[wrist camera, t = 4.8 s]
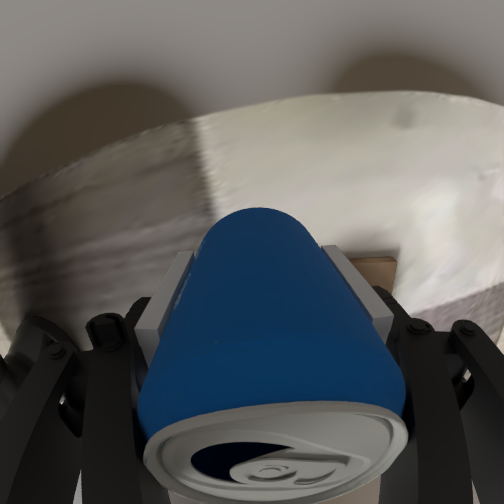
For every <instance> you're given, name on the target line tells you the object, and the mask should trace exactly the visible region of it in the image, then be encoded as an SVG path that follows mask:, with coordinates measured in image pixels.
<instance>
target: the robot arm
mask: <svg viewBox="0 0 504 504" xmlns="http://www.w3.org/2000/svg"><path fill="white" fill-rule="evenodd" d="M321 250H322V251H323V253H324V254H325V255H326V257H327V258H328V260H329V261H330V262H331V264H332V265H333V267H334V268H335V270H336V271H337V272H338V274H339V275H340V277H341V278H342V280H343V281H344V283H345V284H346V285H347V287H348V288H349V290H350V291H351V293H352V294H353V296H354V297H355V299H356V300H357V302H358V303H359V305H360V306H361V308H362V309H363V311H364V312H365V314H366V315H367V317H368V318H369V320H370V321H371V323H372V325H373V326H374V328H375V329H376V331H377V332H378V334H379V336H380V337H381V339H382V340H383V342H384V344H385V345H386V347H387V348H388V350H389V352H390V353H391V355H392V356H393V358H394V360H395V361H396V363H397V365H398V366H399V368H400V370H401V372H402V375H403V378H404V382H405V391H406V401H405V407H404V412H403V415H402V418H401V419H402V420H403V422H404V423H405V426H406V428H407V431H408V442H407V445H406V446H405V448H404V449H403V450H402V451H401V453H400V454H399V455H398V456H397V457H396V459H395V460H394V461H393V463H392V464H391V466H390V467H389V468H388V469H387V470H386V471H385V472H383V473H382V474H381V483H380V495H379V503H378V504H473V490H472V481H473V484H474V487H475V490H476V492H477V496H478V499H479V502H480V504H504V355H503V354H502V352H501V351H500V350H499V349H498V347H497V346H496V345H495V344H494V343H493V342H492V340H491V339H490V338H489V337H488V336H487V335H486V333H485V332H484V331H483V330H482V329H481V328H480V327H479V326H478V325H477V324H475V323H473V322H472V321H470V320H458V321H455V322H454V324H453V325H452V328H451V331H450V332H440V331H435V330H434V328H433V327H432V325H431V324H429V323H428V322H426V321H424V320H422V319H417V318H411V317H410V316H409V315H408V314H407V312H406V311H405V310H404V309H403V308H402V307H401V305H400V304H399V303H397V301H396V300H395V299H394V298H393V296H392V295H391V294H390V293H389V292H388V291H387V290H386V289H384V288H382V287H380V286H379V285H378V286H370V285H369V284H368V282H367V281H366V280H365V279H364V278H363V276H362V275H361V274H360V273H359V272H358V270H357V269H356V268H355V267H354V266H353V265H352V263H351V262H350V261H349V260H348V259H347V258H346V256H345V255H344V254H343V253H342V252H341V251H340V250H339V248H338V247H337V246H336V245H329V246H321ZM193 261H194V251H187V252H179V253H178V254H177V256H176V258H175V259H174V261H173V262H172V264H171V266H170V267H169V269H168V271H167V272H166V274H165V276H164V277H163V279H162V281H161V282H160V284H159V286H158V287H157V289H156V291H155V293H154V294H153V296H152V297H142V298H140V299H139V300H137V301H136V302H135V303H133V305H132V307H131V308H130V310H129V312H128V313H127V314H126V316H125V317H124V319H123V317H122V316H121V315H119V314H116V313H104V314H100V315H98V316H96V317H94V318H92V319H91V320H90V321H88V322H87V324H86V326H85V327H86V330H87V333H88V335H89V338H90V340H91V343H92V345H93V350H90V351H82V352H80V351H79V350H78V348H77V347H76V345H75V344H74V343H73V342H72V341H71V339H70V338H69V337H68V336H67V335H66V334H65V333H64V332H63V331H61V330H60V329H59V328H58V327H56V326H55V325H54V324H52V323H51V322H49V321H47V320H45V319H42V318H39V317H29V318H27V319H26V320H24V321H23V323H22V324H21V325H20V326H19V327H18V329H17V331H16V334H15V336H14V339H13V341H12V344H11V346H10V349H9V352H8V354H7V355H6V356H5V358H4V359H3V358H2V356H1V355H0V504H73V500H74V495H75V491H76V487H77V483H78V478H79V475H80V470H81V482H82V483H81V485H82V504H171V502H170V498H169V494H168V490H167V489H166V488H165V487H163V486H162V485H161V484H160V483H159V482H158V481H157V479H156V478H155V477H154V476H153V474H152V473H151V472H150V471H149V470H148V469H147V468H146V466H145V465H144V463H143V455H144V451H145V447H146V444H147V443H146V441H145V439H144V437H143V434H142V432H141V430H140V426H139V422H138V415H137V404H138V397H139V394H140V392H141V389H142V386H143V383H144V381H145V378H146V375H147V373H148V370H149V367H150V365H151V362H152V359H153V357H154V354H155V352H156V349H157V346H158V344H159V341H160V339H161V336H162V334H163V331H164V329H165V326H166V324H167V321H168V319H169V317H170V314H171V312H172V309H173V307H174V305H175V302H176V300H177V297H178V295H179V293H180V290H181V288H182V286H183V283H184V281H185V279H186V276H187V274H188V272H189V270H190V267H191V265H192V263H193ZM467 369H468V370H469V372H470V373H471V376H470V378H469V379H468V381H466V380H465V378H464V377H463V376H464V374H465V373H466V371H467ZM63 401H64V402H63ZM61 402H63V404H62V405H61V404H60V403H61ZM471 478H472V479H471Z"/></svg>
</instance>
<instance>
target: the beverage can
mask: <svg viewBox="0 0 504 504" xmlns="http://www.w3.org/2000/svg"><path fill="white" fill-rule="evenodd" d="M405 401H406V391H405V382H404V378H403V375H402V372H401V370H400V368H399V366H398V365H397V363H396V361H395V360H394V358H393V356H392V355H391V353H390V352H389V350H388V348H387V347H386V345H385V344H384V342H383V340H382V339H381V337H380V336H379V334H378V332H377V331H376V329H375V328H374V326H373V325H372V323H371V321H370V320H369V318H368V317H367V315H366V314H365V312H364V311H363V309H362V308H361V306H360V305H359V303H358V302H357V300H356V299H355V297H354V296H353V294H352V293H351V291H350V290H349V288H348V287H347V285H346V284H345V283H344V281H343V280H342V278H341V277H340V275H339V274H338V272H337V271H336V270H335V268H334V267H333V265H332V264H331V262H330V261H329V260H328V258H327V257H326V255H325V254H324V253H323V251H322V250H321V248H320V247H319V246H318V244H317V243H316V242H315V240H314V239H313V237H312V236H311V235H310V233H309V232H308V231H307V229H306V228H305V227H304V226H303V225H302V224H301V223H300V222H299V221H297V220H296V219H295V218H293V217H292V216H290V215H288V214H286V213H284V212H281V211H278V210H275V209H270V208H261V207H259V208H248V209H242V210H239V211H236V212H234V213H231V214H229V215H227V216H226V217H224V218H222V219H221V220H219V221H218V222H217V223H216V224H215V225H214V226H213V227H212V228H211V229H210V230H209V231H208V233H207V234H206V236H205V237H204V239H203V241H202V243H201V245H200V247H199V250H198V252H197V254H196V256H195V258H194V261H193V263H192V265H191V267H190V270H189V272H188V274H187V276H186V279H185V281H184V283H183V286H182V288H181V290H180V293H179V295H178V297H177V300H176V302H175V305H174V307H173V309H172V312H171V314H170V317H169V319H168V321H167V324H166V326H165V329H164V331H163V334H162V336H161V339H160V341H159V344H158V346H157V349H156V352H155V354H154V357H153V359H152V362H151V365H150V367H149V370H148V373H147V375H146V378H145V381H144V383H143V386H142V389H141V392H140V394H139V397H138V404H137V415H138V422H139V426H140V430H141V432H142V434H143V437H144V439H145V441H146V443H147V444H146V447H145V451H144V455H143V463H144V465H145V466H146V468H147V469H148V470H149V471H150V472H151V473H152V474H153V476H154V477H155V478H156V479H157V481H158V482H159V483H160V484H161V485H162V486H163V487H165V488H166V489H168V490H170V491H172V492H173V493H176V494H177V495H180V496H182V497H184V498H187V499H190V500H193V501H196V502H199V503H203V504H315V503H319V502H323V501H326V500H330V499H332V498H336V497H338V496H341V495H343V494H346V493H348V492H351V491H353V490H355V489H357V488H359V487H361V486H363V485H365V484H367V483H368V482H370V481H372V480H374V479H375V478H376V477H378V476H379V475H381V474H382V473H383V472H385V471H386V470H387V469H388V468H389V467H390V466H391V464H392V463H393V461H394V460H395V459H396V457H397V456H398V455H399V454H400V453H401V451H402V450H403V449H404V448H405V446H406V445H407V442H408V431H407V428H406V426H405V423H404V422H403V420H402V419H401V418H402V415H403V412H404V407H405Z"/></svg>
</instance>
